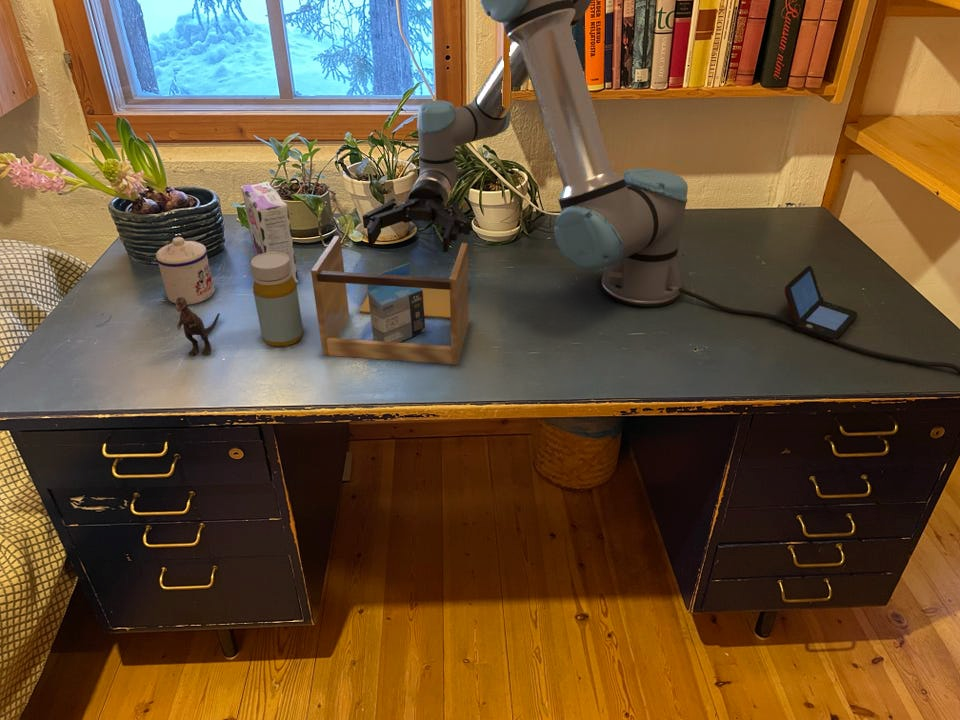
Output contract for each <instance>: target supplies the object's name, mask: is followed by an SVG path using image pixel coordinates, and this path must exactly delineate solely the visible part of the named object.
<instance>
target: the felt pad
mask: <svg viewBox="0 0 960 720" xmlns="http://www.w3.org/2000/svg"><path fill="white" fill-rule="evenodd" d="M421 289H422V290H423V302H424V317H425V318H433V319H447V320H448V319H449V320H451V318H450V290H445V289H429V288H421ZM359 314H370V306H369V298H368V294H367V295H366V298H365V299H364V301H363V303H362V304H361V307H360V309H359Z"/></svg>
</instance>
